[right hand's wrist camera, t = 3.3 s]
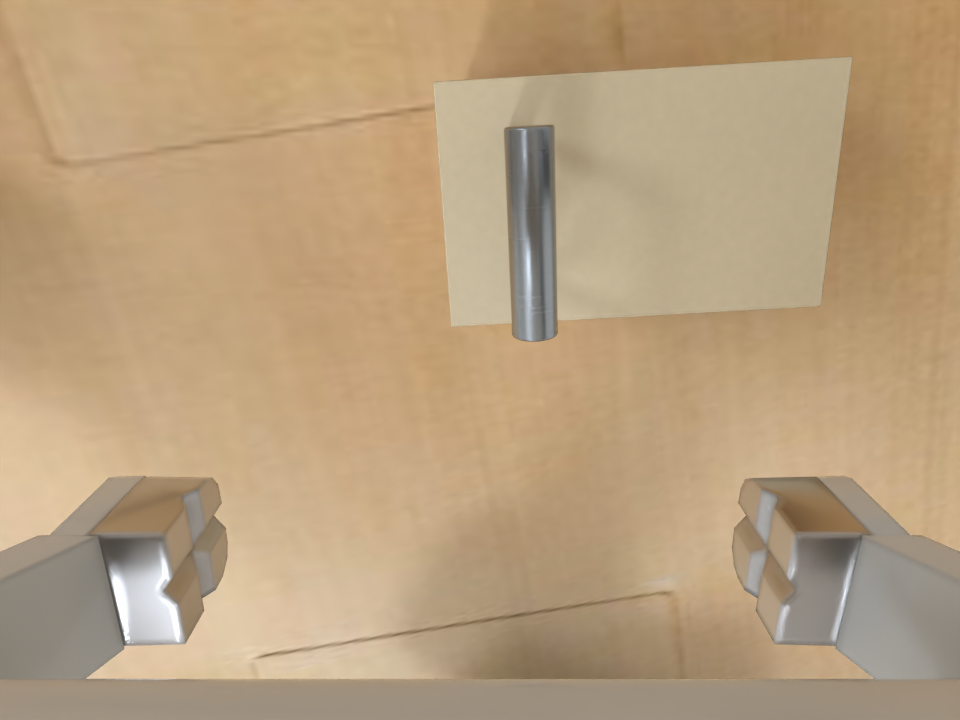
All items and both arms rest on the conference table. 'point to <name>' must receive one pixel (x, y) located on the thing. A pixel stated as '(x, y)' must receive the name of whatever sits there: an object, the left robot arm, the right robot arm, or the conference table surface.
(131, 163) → the conference table surface
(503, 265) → the lid
